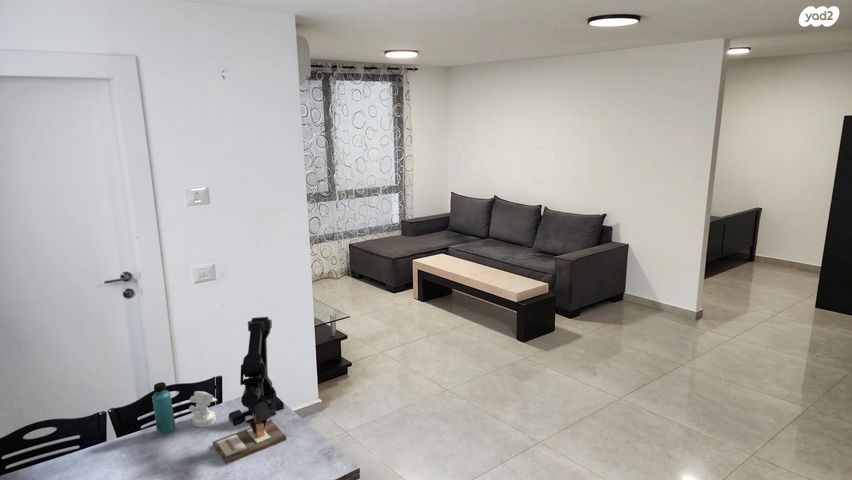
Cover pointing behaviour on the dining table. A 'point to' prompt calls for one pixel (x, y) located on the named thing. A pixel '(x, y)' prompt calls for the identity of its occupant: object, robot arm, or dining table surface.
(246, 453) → the ticket board
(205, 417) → the character figurine
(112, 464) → the dining table surface
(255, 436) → the stub
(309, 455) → the dining table surface
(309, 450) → the dining table surface
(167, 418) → the beverage bottle
